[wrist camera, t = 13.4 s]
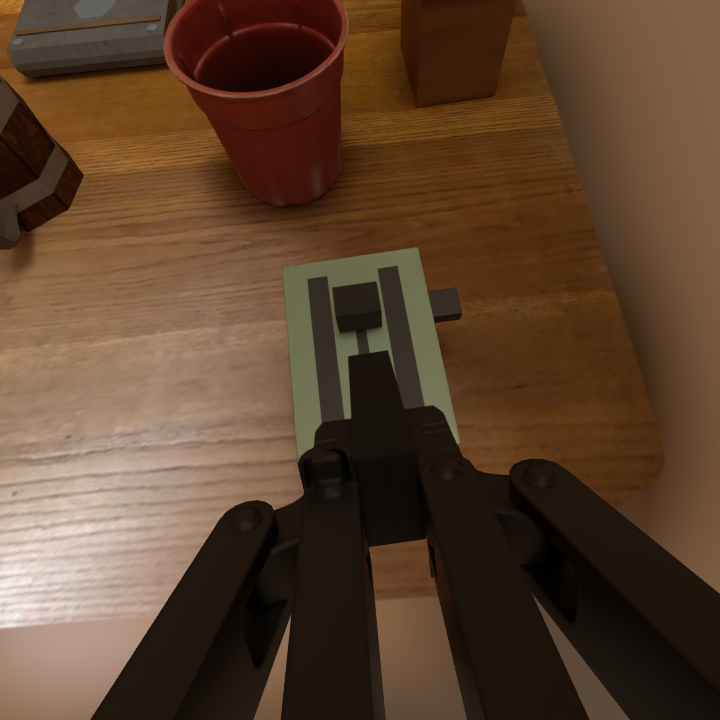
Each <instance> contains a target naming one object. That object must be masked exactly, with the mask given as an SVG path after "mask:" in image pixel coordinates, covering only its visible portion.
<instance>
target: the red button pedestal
mask: <svg viewBox="0 0 720 720" xmlns="http://www.w3.org/2000/svg"><path fill="white" fill-rule="evenodd" d="M516 1H517V0H402V3H401V49H402V53H403V57H404V61H405V65H406V69H407V73H408V77H409V81H410V85H411V89H412V93H413V97H414V101H415V105H416V107H423V106H430V105H436V104H443V103H450V102H456V101H463V100H470V99H476V98H483V97H490V96H495V92H496V87H497V83H498V79H499V74H500V70H501V66H502V61H503V57H504V53H505V48H506V44H507V40H508V35H509V31H510V27H511V22H512V18H513V14H514V9H515V5H516Z"/></svg>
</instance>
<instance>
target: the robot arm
mask: <svg viewBox="0 0 720 720" xmlns="http://www.w3.org/2000/svg"><path fill="white" fill-rule="evenodd" d="M348 368H349V386H350V404H351V418H350V419H343V420H336V421H330V422H323V423H322V424H321V425H320V426H319V428H318V429H317V430H316V432H315V438H314V447H313V448H311V449H309V450H307V451H306V452H305V453H304V454H303V455H302V456H301V457H300V459H299V461H298V468H299V472H300V476H301V480H302V485H303V489H304V495H303V496H302V497H301V498H299V499H298V500H296V501H295V502H293V503H291V504H289V505H287V506H284V507H282V508H279V509H276V510H274V511H273V508H272V506H271V505H269V504H268V503H267V502H263V501H258V500H256V501H247V502H244V503H241V504H239V505H236V506H235V507H233V508H231V509H230V510H228V511H227V512H226V513H225V514H224V515H223V516H222V517H221V518H220V520H219V521H218V523H217V524H216V526H215V528H214V529H213V531H212V532H211V534H210V535H209V537H208V538H207V540H206V541H205V543H204V545H203V546H202V548H201V549H200V551H199V552H198V554H197V555H196V557H195V558H194V560H193V562H192V563H191V565H190V566H189V568H188V569H187V571H186V572H185V574H184V576H183V577H182V579H181V580H180V582H179V583H178V585H177V586H176V588H175V589H174V591H173V593H172V594H171V596H170V597H169V599H168V600H167V602H166V603H165V605H164V607H163V608H162V610H161V611H160V613H159V614H158V616H157V617H156V619H155V620H154V622H153V624H152V625H151V627H150V628H149V630H148V631H147V633H146V635H145V636H144V637H143V639H142V641H141V642H140V644H139V645H138V647H137V648H136V650H135V651H134V653H133V655H132V656H131V658H130V659H129V661H128V662H127V664H126V665H125V667H124V669H123V670H122V672H121V673H120V675H119V676H118V678H117V679H116V681H115V683H114V684H113V686H112V687H111V689H110V690H109V692H108V694H107V695H106V696H105V698H104V700H103V701H102V703H101V704H100V706H99V707H98V709H97V711H96V712H95V714H94V715H93V716H92V718H91V720H253V719H254V716H255V714H256V711H257V708H258V705H259V702H260V700H261V697H262V694H263V691H264V688H265V686H266V683H267V680H268V677H269V674H270V672H271V669H272V666H273V663H274V660H275V657H276V655H277V652H278V649H279V647H280V644H281V641H282V638H283V635H284V633H285V630H286V627H287V624H288V621H289V619H290V616H291V624H290V635H289V644H288V653H287V663H286V673H285V683H284V693H283V703H282V713H281V720H386V719H385V708H384V697H383V686H382V675H381V663H380V652H379V642H378V630H377V619H376V608H375V597H374V585H373V574H372V563H371V558H370V552H369V547H373V546H380V545H387V544H394V543H401V542H408V541H415V540H422V539H426V537H427V544H428V553H429V562H430V571H431V578H432V577H434V580H435V584H436V588H437V593H438V597H439V601H440V605H441V609H442V614H443V618H444V623H445V627H446V631H447V636H448V640H449V644H450V648H451V652H452V657H453V661H454V666H455V670H456V674H457V678H458V682H459V687H460V691H461V695H462V699H463V704H464V708H465V712H466V717H467V720H589V718H588V716H587V713H586V711H585V709H584V707H583V705H582V702H581V700H580V698H579V696H578V694H577V691H576V689H575V687H574V685H573V683H572V680H571V678H570V676H569V674H568V672H567V669H566V667H565V665H564V663H563V661H562V659H561V656H560V654H559V652H558V650H557V648H556V645H555V643H554V641H553V639H552V637H551V634H550V632H549V630H548V628H547V626H546V623H545V621H544V619H543V617H542V615H541V612H540V610H539V608H538V606H537V604H536V602H535V600H534V597H533V595H534V596H535V597H536V599H537V600H538V601H539V603H540V604H541V605H542V606H543V608H544V609H545V610H546V612H547V613H548V614H549V615H550V617H551V618H552V619H553V621H554V622H555V623H556V624H557V626H558V627H559V628H560V630H561V631H562V632H563V634H564V635H565V636H566V637H567V639H568V640H569V641H570V643H571V644H572V645H573V646H574V648H575V649H576V650H577V652H578V653H579V654H580V655H581V657H582V658H583V659H584V661H585V662H586V663H587V665H588V666H589V667H590V669H591V670H592V671H593V672H594V674H595V675H596V676H597V678H598V679H599V680H600V681H601V683H602V684H603V685H604V687H605V688H606V689H607V691H608V692H609V693H610V694H611V696H612V697H613V698H614V700H615V701H616V702H617V703H618V705H619V706H620V707H621V709H622V710H623V711H624V713H625V714H626V715H627V716H628V718H629V719H630V720H720V594H719V593H718V592H717V591H715V590H714V589H713V588H712V587H711V586H709V585H708V584H707V583H706V582H704V581H703V580H702V579H701V578H700V577H698V576H697V575H696V574H694V573H693V572H692V571H691V570H690V569H688V568H687V567H686V566H685V565H683V564H682V563H681V562H680V561H679V560H677V559H676V558H675V557H673V556H672V555H671V554H670V553H668V552H667V551H666V550H665V549H664V548H662V547H661V546H660V545H659V544H658V543H656V542H655V541H654V540H653V539H651V538H650V537H649V536H647V535H646V534H645V533H644V532H642V531H641V530H640V529H639V528H638V527H636V526H635V525H634V524H633V523H632V522H630V521H629V520H628V519H627V518H625V517H624V516H623V515H621V514H620V513H619V512H618V511H617V510H616V509H614V508H613V507H612V506H611V505H609V504H608V503H607V502H606V501H604V500H603V499H602V498H601V497H599V496H598V495H597V494H596V493H595V492H593V491H592V490H591V489H590V488H588V487H587V486H586V485H585V484H583V483H582V482H581V481H580V480H578V479H577V478H576V477H575V476H574V475H572V474H571V473H570V472H569V471H567V470H566V469H565V468H563V467H562V466H560V465H558V464H557V463H554V462H551V461H548V460H544V459H528V460H523V461H520V462H518V463H516V464H514V465H513V467H512V468H511V469H510V472H509V475H497V474H489V473H484V472H481V471H478V470H476V469H475V468H474V466H473V465H472V463H471V462H470V461H469V460H467V459H465V458H463V456H462V454H461V452H460V449H459V447H458V445H457V442H456V440H455V438H454V436H453V433H452V431H451V429H450V427H449V424H448V423H447V420H446V417H445V415H444V413H443V412H442V411H441V410H439V409H438V408H436V407H435V406H434V405H431V406H424V407H417V408H410V409H404V405H403V402H402V398H401V395H400V391H399V388H398V384H397V380H396V377H395V373H394V370H393V366H392V363H391V359H390V356H389V352H388V350H386V351H379V352H372V353H365V354H359V355H352V356H348ZM425 533H426V534H425ZM531 592H532V593H533V595H532V593H531ZM291 613H292V614H291Z"/></svg>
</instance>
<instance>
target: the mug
mask: <svg viewBox="0 0 720 720" xmlns="http://www.w3.org/2000/svg"><path fill="white" fill-rule="evenodd" d="M82 178H83V174H82V173H81V171H80V170H79V168H78V167H77V165H76V164H75V163H74V161H73V160H72V158H71V157H70V156H69V154H68V153H67V151H66V150H64V149H63V148H62V147H61V146H60V145H59V144H58V143H57V142H56V141H55V140H54V139H53V138H52V137H51V136H50V134H49V133H48V132H47V131H46V129H45V128H44V127H43V126H42V125H41V123H40V122H39V121H38V119H37V118H36V117H35V115H34V114H33V112H32V111H31V110H30V108H29V107H28V105H27V104H26V103H25V101H24V100H23V99H22V98H21V96H20V95H19V94H18V93H17V92H16V91H15V90H14V89H13V88H12V87H11V86H10V85H9V84H8V83H7V82H6V81H5V80H4V79H3V78H2V77H1V75H0V249H1V250H6V249H11V248H13V247H15V246H16V245H17V243H18V241H19V240H20V236H21V235H20V231H28V232H29V231H31V230H32V229H34V228H36V227H38V226H39V225H41V224H43V223H44V222H46V221H48V220H50V219H51V218H53V217H55V216H57V215H58V214H60V213H62V212H64V211H65V210H67V209H69V207H70V204H71V202H72V200H73V198H74V195H75V193H76V191H77V189H78V187H79V184H80V182H81V180H82Z"/></svg>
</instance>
